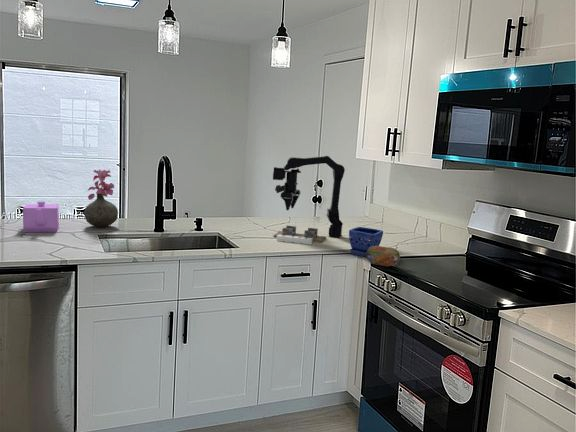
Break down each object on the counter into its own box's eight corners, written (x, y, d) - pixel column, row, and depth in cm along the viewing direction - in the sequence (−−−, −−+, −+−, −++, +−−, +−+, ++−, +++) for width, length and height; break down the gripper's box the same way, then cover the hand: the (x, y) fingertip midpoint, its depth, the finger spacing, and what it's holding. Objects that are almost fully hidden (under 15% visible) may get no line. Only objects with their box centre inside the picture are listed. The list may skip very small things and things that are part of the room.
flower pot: (382, 254, 262) (384, 230, 260) (372, 259, 250) (374, 234, 248) (357, 249, 268) (359, 226, 266) (346, 254, 257) (348, 229, 255)
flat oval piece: (365, 262, 243) (366, 244, 241) (367, 261, 245) (369, 243, 244) (397, 268, 236) (399, 249, 234) (399, 267, 239) (401, 248, 237)
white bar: (312, 243, 277) (312, 237, 276) (310, 245, 273) (311, 239, 272) (278, 240, 281) (278, 233, 280) (276, 241, 277) (276, 235, 276)
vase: (108, 231, 274) (108, 172, 269) (76, 228, 276) (76, 169, 272) (123, 225, 290) (123, 170, 285) (92, 222, 293) (93, 167, 288)
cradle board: (325, 238, 291) (326, 229, 290) (321, 242, 279) (322, 233, 278) (279, 233, 297) (279, 224, 296) (273, 237, 285) (273, 227, 285)
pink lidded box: (21, 235, 254) (20, 205, 252) (27, 224, 277) (26, 197, 275) (56, 234, 259) (56, 205, 257) (59, 224, 283) (59, 198, 280)
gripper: (282, 178, 302) (280, 205, 305) (272, 180, 285) (270, 210, 287) (301, 179, 299) (299, 207, 302) (292, 182, 282) (290, 212, 284)
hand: (289, 209), depth 294 cm, fingers open, 9 cm apart
